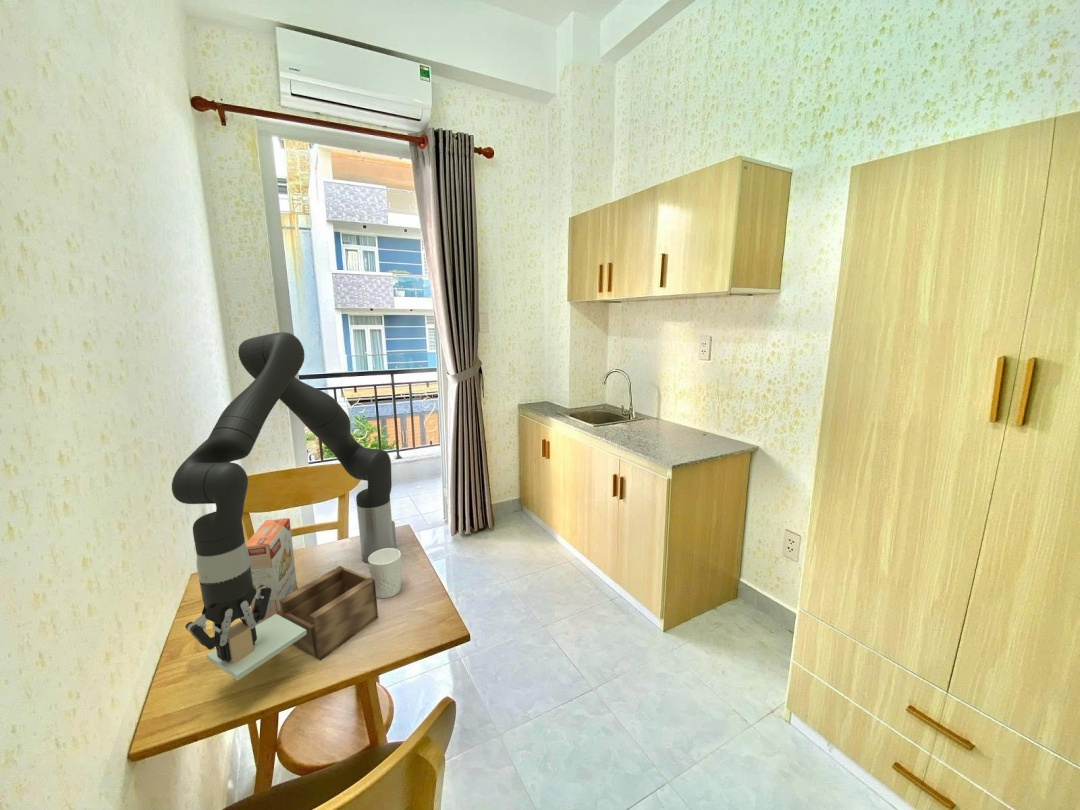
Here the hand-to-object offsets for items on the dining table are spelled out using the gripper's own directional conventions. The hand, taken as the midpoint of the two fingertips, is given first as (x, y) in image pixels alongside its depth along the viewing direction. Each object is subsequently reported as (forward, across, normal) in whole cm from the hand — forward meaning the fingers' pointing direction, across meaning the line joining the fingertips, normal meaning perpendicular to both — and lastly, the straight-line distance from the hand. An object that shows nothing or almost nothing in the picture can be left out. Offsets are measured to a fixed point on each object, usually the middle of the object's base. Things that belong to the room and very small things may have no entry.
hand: (238, 651), depth 81 cm
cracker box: (+9, -17, -18) cm, 26 cm away
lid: (+1, -4, 0) cm, 4 cm away
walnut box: (+8, -19, 0) cm, 21 cm away
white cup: (+9, -35, 0) cm, 36 cm away
